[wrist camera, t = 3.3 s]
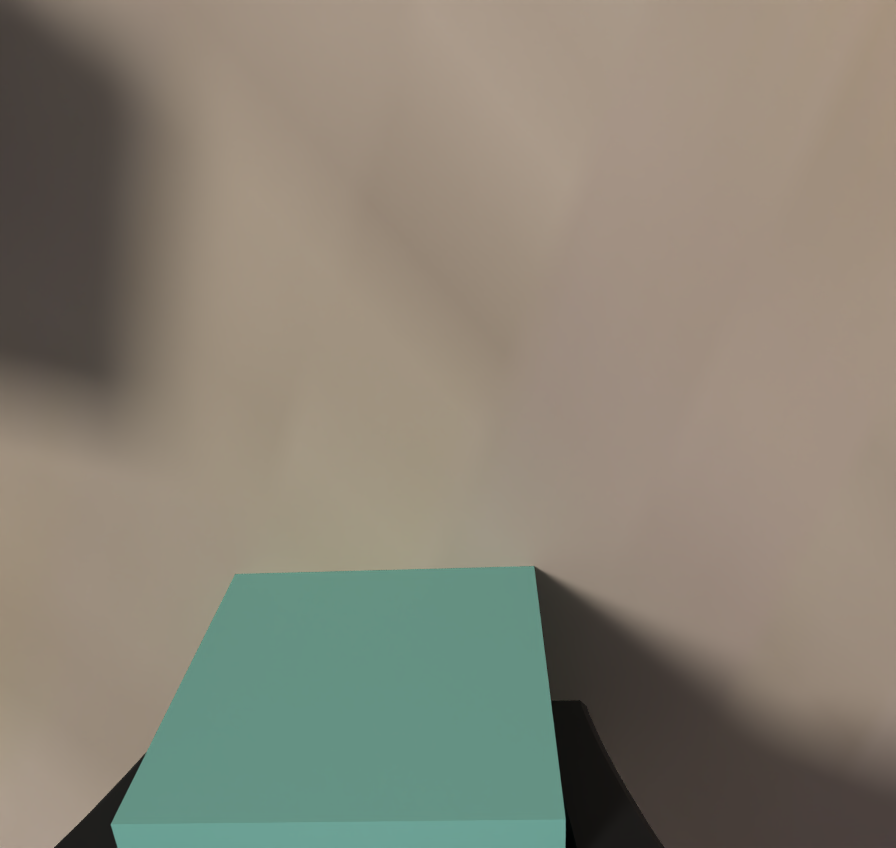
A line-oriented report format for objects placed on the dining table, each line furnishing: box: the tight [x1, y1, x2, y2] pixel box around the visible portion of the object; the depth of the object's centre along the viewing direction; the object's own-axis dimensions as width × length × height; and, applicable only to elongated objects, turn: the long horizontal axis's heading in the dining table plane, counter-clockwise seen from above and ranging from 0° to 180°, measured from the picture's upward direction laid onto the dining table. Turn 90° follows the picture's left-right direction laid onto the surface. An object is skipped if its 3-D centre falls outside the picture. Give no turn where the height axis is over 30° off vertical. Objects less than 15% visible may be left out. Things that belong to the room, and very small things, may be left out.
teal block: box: [111, 566, 566, 848], centre depth 12 cm, size 5×5×5 cm
